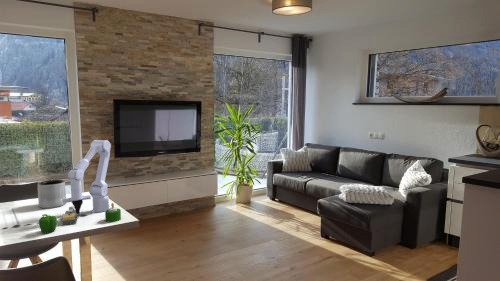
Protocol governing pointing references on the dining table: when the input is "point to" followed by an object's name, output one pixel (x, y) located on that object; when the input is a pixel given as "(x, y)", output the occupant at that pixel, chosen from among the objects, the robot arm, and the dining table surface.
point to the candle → (113, 214)
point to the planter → (51, 193)
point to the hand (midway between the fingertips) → (77, 213)
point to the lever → (71, 210)
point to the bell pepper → (47, 223)
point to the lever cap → (69, 216)
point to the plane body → (69, 222)
